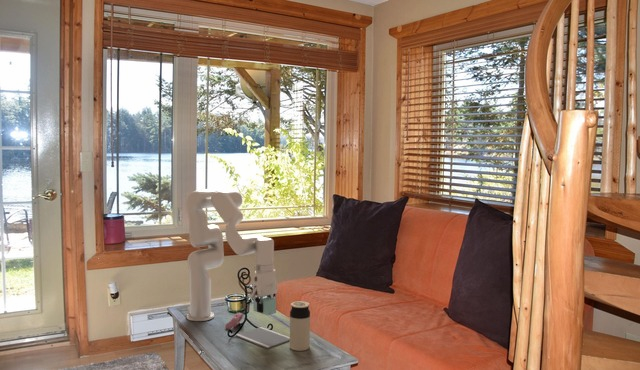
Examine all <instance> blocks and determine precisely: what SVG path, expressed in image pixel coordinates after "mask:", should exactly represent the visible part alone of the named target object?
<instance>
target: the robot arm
mask: <svg viewBox="0 0 640 370" xmlns="http://www.w3.org/2000/svg"><path fill="white" fill-rule="evenodd" d="M242 204H243V196H242V194H241V193H240V192H239V191H238V190H236V189H229V188H228V189H227V188H206V189H205V188H203V189H197V190H194V191H191V192H190V193H188V195H187V196H186V199H185V209H186V213H187V217H188V235H189V242H190V245H191V246H192V247H193V248H202V247H204V248H203V249H197V250H195V251H192V252H191V253H189V255H188V257H187V266H188V272H189V306H187V307H186V310H188V313H187V314H186V319H187V320H188V321H192V322H205V321H209V320H212V319H213V318H214V317H215V313H214V312H212V279H211V276H210V274H209V272H208V271H207V270H211V269H216V268H219V267H220V266H222V265H223V263H224V258H225V255H224V254H225V253H224V251H225V250H224V235H223V231H222V230H221V228H220V226H218V225H216V224H209V223H208V215H207V213H206V212H205V210H204V209H207V208H214V209H215V211H216V213H218V215H219V217H220V219H222V221H223V222H224V224H225V233H224V234H225V239H226V242H227V244H228V245H229V246H230V248H231V249H232V251H233V252H234V253H235V254H236V255H239V256H246V255H251V254H253V255H254V254H255V267H254V275H253V282H252V292H251V295H250V298H251V299H253V301H254V300H255V302H256V303H257V312H256V313H259V312H260V313H259V314H262V313H263V303H262V299H263V297H264V296H268V297H271V298H275V297H276V295H277V293H278V292H279V289H278V277H277V272H276V269H275V264H274V262H275V258H274V257H275V241H274V239H273V238H271V237H264V236H262V235H258V234H253V235H247V236H241V234H239V232H238V231H237V227H236V226H238V225H239V224H240V223H241V222H242V221H243V218H244V214H243V212H242V211H241V210H240V208H239V207H241V206H242ZM205 247H207V248H205ZM259 297H260V299H259Z"/></svg>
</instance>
